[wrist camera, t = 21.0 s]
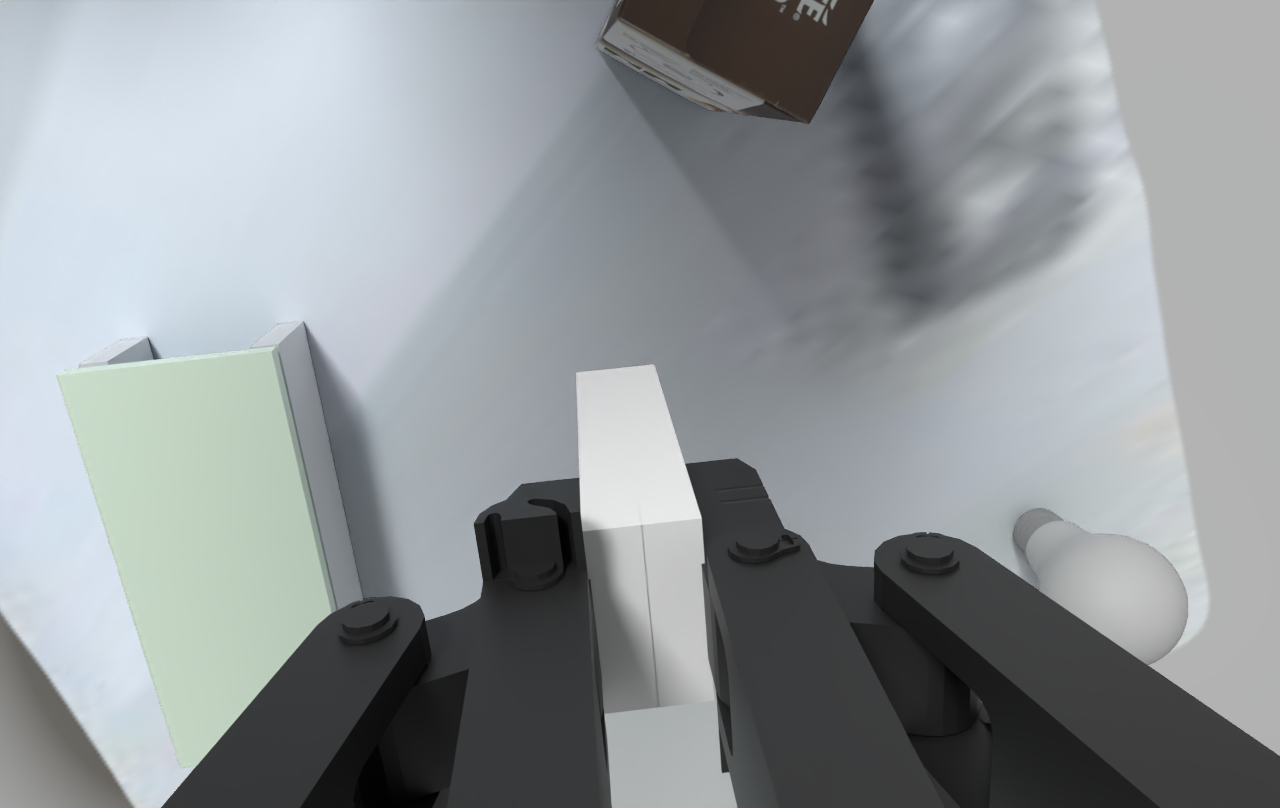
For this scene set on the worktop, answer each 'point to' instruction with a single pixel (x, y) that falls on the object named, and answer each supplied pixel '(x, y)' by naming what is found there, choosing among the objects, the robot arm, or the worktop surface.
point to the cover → (204, 525)
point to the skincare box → (667, 758)
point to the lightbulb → (1107, 582)
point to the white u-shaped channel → (310, 442)
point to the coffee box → (737, 50)
